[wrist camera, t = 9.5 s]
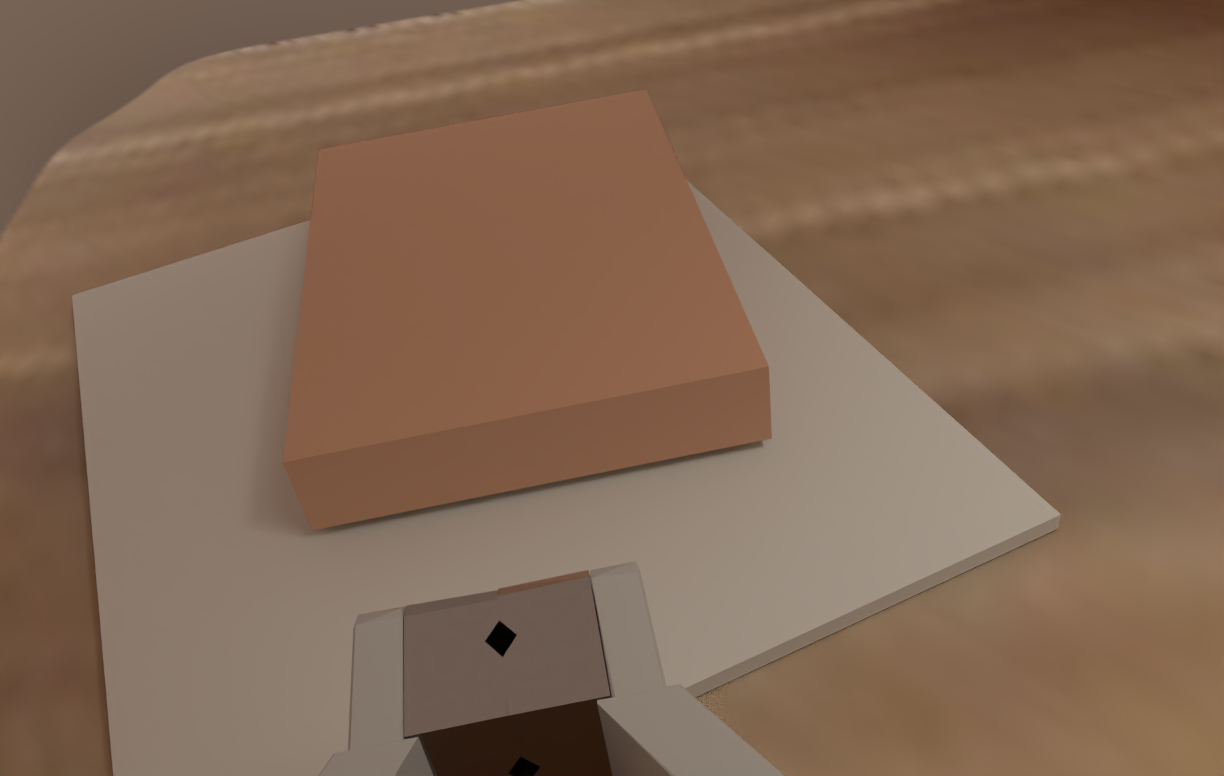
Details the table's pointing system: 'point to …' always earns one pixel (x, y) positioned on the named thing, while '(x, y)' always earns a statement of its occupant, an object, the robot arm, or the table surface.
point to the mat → (479, 513)
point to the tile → (511, 314)
